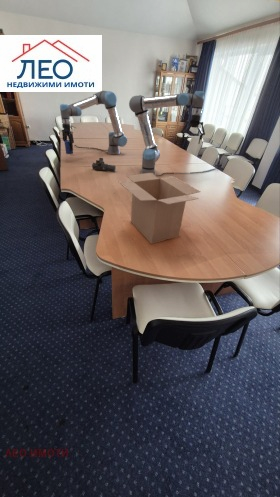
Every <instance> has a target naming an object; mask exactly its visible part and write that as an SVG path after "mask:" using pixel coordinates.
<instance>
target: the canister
mask: <svg viewBox="0 0 280 497" xmlns="http://www.w3.org/2000/svg"><path fill="white" fill-rule="evenodd" d="M63 142H64V148H65V154H66V155H73V154H74V149H73V150H72V151H70V141H69V139H67V140H65V141H63Z"/></svg>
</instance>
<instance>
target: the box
mask: <svg viewBox="0 0 280 497" xmlns="http://www.w3.org/2000/svg"><path fill="white" fill-rule="evenodd" d="M126 177H127V178H128V179H129V180H130V181H117V182H118V184H120V185H121V186H122V187H123V188H124V189H126V190H127V191H128V192H129V193H131V212H130V216H131V217H130V222H131V224H132V225H133V226H134V227H135V228H136V229H137V230H138V231H139V232H140V233H141V234H142V236H144V237H145V239H147V241H149V242H150V244H151V245H152V244H155V243H159V242H162V241H167V240H171V239H174V238H178V237H179V236H180V232H181V228H182V222H183V218H184V213H185V207H186V202H189V201H193V200H199V198H198V197H195V196H192V195H193V194H197V193H201V190H199V189H197V188H195V187H194V186H191V185H190V184H188V183H186V182H185V181H183V180H181V179H179V178H177V177H175V176H173V175H171V176H165V177H159V176H157V174H156V175H154V174H153V173H145V174H140V173H136V174H128V175H126Z"/></svg>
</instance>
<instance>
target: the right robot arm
mask: <svg viewBox="0 0 280 497" xmlns="http://www.w3.org/2000/svg"><path fill="white" fill-rule="evenodd" d="M205 95H206V92H205V91H202V90H195V91H194V93H188V92H180V93H176V94H174V93H173V94H166V95H157V96H149V97H145V96H143V95H141V94H139V95H134V96H131V98H130V99H129V102H128V106H129V109H130V111H131V112H132V113H134V116H135V117H136V118H137V121H138V123H139V128H140V131H141V135H142V138H143V143H144V145H145V147H144V150H143V151H142V159H141V160H142V161H141V169H140V172H139V174H145V173H153V174H154V175H156V176H157V177H160V176H161V177H162V176H163V175H168V174H170V175H171V174H173V172H164V173H162V174H156V169H155V167H156V162H157V161H158V160H159V159H160V156H161V151H160V150H159V149H158V145H157V144H156V143H155V138H154V136H153V132H152V127H151V124H150V120H149V116H148V113H149V109H150V110H151V109H152V110H153V109H161V108H170V107H184V106H192V110H191V116H190V120H186V121H185V124H184V126H183V127H182V129H181V130H180V133H181V134H182V135H181V138H182V143H184V142H185V137H186V133H187V131H188V130H189V129H190V128H194V129H196V128H197V130H198V132H199V134H200V135H199V138H198V143H197V144H198V145H200V143H201V141H202V139H203V136H205V135H206V132H205V128H204V121H201V118H202V116H201V115H202V110H203V106H204V101H205ZM187 125H188V126H187ZM199 125H200V126H201V128H200V126H199ZM201 129H202V130H201ZM217 169H218V170H220V168H219V167H215V168H212V169H208V170H204V171H196V172H195V171H194V172H193V171H192V172H191V174H199V173H206V172H210V171H214V170H217Z"/></svg>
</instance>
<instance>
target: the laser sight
mask: <svg viewBox="0 0 280 497" xmlns="http://www.w3.org/2000/svg"><path fill="white" fill-rule="evenodd" d="M91 168H92V170H95V171H101V172H102V171H103V172H113V173H115V172H116V169H117V167H116V165H114V164H108V163H105V161H104V158H103V157H99V158H98V160H97V159H96V160H95V162H92V164H91Z"/></svg>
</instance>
